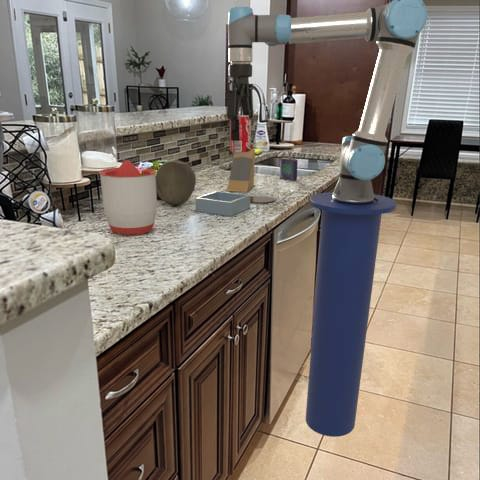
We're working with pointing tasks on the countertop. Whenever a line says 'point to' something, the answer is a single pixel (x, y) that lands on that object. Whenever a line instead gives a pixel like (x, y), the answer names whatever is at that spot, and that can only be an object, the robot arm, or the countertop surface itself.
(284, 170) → the dark purple green box
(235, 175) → the sandwich container
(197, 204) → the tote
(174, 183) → the cantaloupe
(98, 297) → the countertop surface
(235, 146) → the soda can
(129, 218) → the citrus juicer
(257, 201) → the coaster
